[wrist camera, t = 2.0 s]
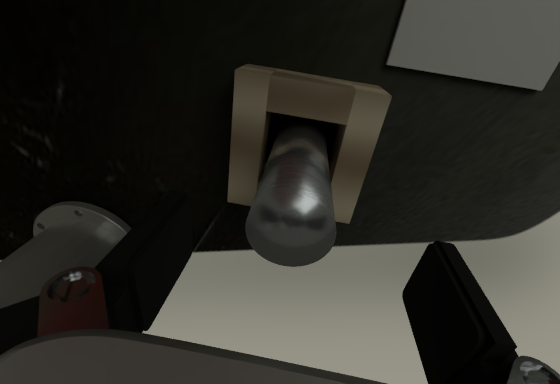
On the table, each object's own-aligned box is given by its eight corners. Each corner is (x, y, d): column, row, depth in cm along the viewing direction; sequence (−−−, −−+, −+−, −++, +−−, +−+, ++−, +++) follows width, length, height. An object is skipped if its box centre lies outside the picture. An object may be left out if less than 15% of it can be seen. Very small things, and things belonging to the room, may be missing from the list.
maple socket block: (344, 198, 26) (349, 223, 22) (238, 179, 26) (227, 201, 23) (378, 85, 21) (391, 96, 17) (247, 63, 21) (234, 69, 18)
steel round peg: (319, 163, 25) (324, 273, 13) (274, 155, 25) (242, 258, 13) (330, 118, 23) (347, 202, 11) (281, 110, 23) (249, 185, 11)
